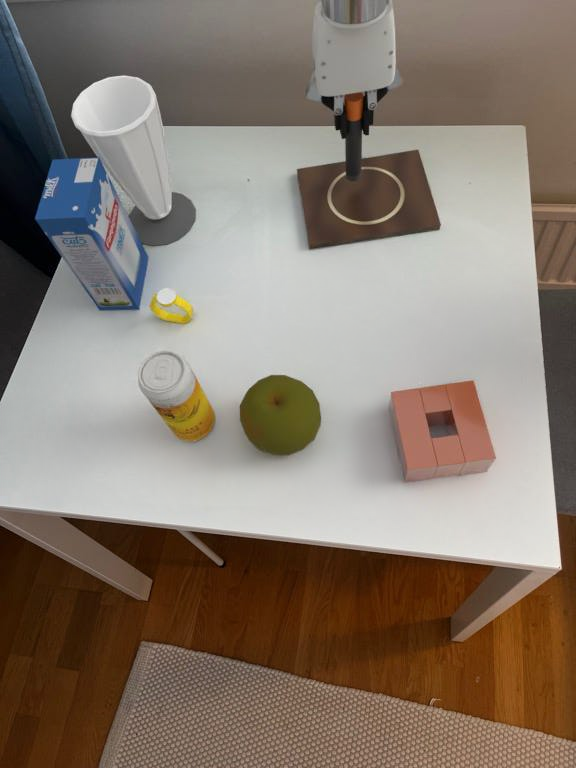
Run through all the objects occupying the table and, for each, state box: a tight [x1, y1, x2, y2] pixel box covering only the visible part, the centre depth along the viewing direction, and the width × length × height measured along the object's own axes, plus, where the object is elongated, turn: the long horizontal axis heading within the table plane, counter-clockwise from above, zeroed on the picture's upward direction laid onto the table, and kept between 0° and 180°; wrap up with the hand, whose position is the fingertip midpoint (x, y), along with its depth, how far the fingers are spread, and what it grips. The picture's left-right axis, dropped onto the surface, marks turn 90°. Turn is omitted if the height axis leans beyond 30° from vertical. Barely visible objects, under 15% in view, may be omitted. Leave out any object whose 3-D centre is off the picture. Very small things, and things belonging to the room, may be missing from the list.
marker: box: [343, 92, 364, 182], centre depth 83 cm, size 2×2×14 cm
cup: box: [70, 75, 197, 247], centre depth 85 cm, size 12×12×22 cm
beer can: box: [137, 350, 216, 443], centre depth 71 cm, size 6×6×15 cm
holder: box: [388, 379, 497, 484], centre depth 71 cm, size 10×10×5 cm
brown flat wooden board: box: [296, 149, 442, 250], centre depth 91 cm, size 20×16×1 cm
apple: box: [238, 374, 322, 456], centre depth 71 cm, size 10×10×11 cm
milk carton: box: [34, 156, 149, 311], centre depth 81 cm, size 10×6×20 cm, turn 178°
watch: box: [149, 287, 194, 325], centre depth 83 cm, size 6×3×6 cm, turn 78°
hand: (353, 129), depth 82 cm, fingers closed on marker, 2 cm apart
